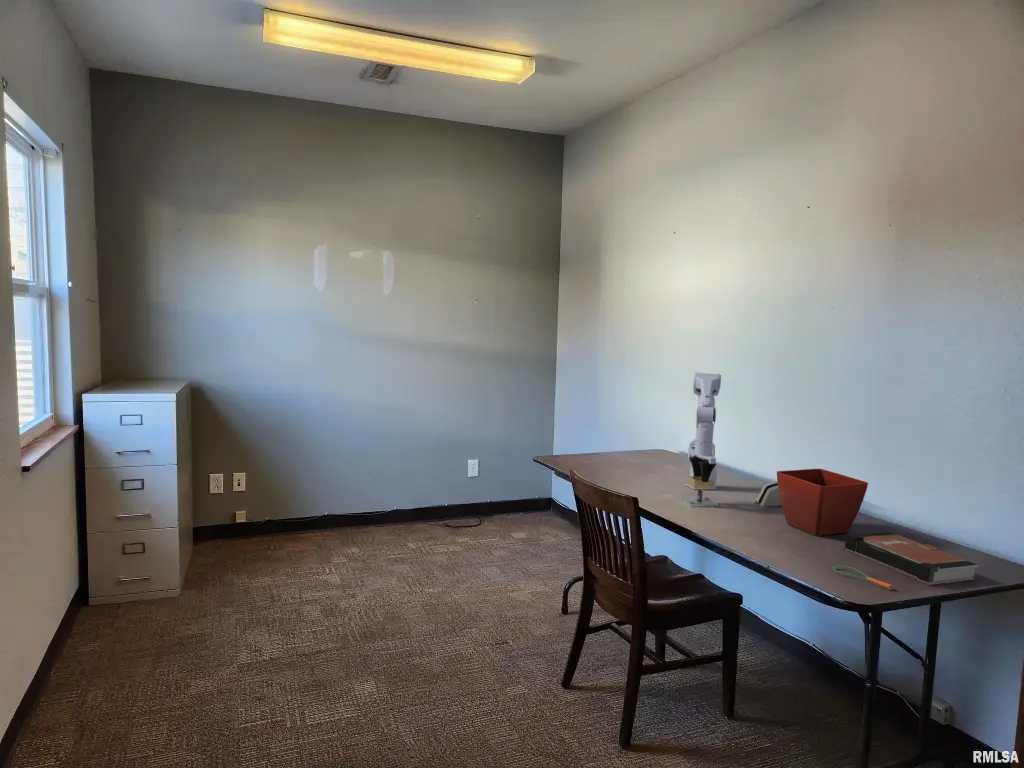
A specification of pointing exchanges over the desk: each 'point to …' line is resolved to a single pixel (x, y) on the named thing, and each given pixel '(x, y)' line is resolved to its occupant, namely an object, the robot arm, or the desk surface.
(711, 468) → the robot arm
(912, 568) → the book
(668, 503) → the desk surface
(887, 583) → the green orange wire loop
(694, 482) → the link
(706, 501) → the keeper plate
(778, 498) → the grey curved piece
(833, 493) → the plant pot
